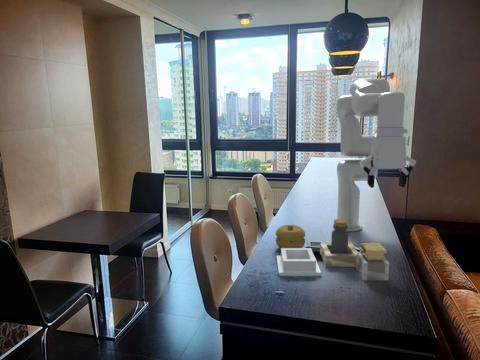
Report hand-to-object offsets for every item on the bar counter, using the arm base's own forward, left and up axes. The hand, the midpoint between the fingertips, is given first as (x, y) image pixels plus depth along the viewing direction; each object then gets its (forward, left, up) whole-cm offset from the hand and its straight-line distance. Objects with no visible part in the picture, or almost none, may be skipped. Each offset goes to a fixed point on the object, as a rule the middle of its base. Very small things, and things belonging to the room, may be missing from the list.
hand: (386, 186), depth 113 cm
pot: (-21, -28, -30) cm, 46 cm away
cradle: (-5, -27, -30) cm, 41 cm away
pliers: (-21, 0, -31) cm, 37 cm away
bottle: (-11, -11, -30) cm, 34 cm away
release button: (+1, -3, -26) cm, 26 cm away
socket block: (-6, -8, -30) cm, 32 cm away
